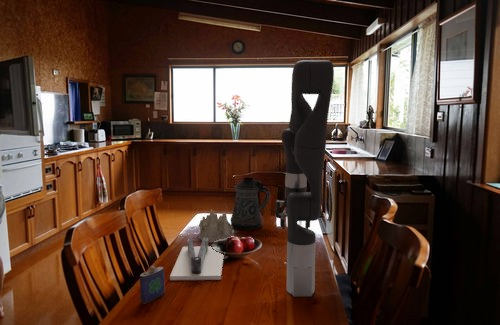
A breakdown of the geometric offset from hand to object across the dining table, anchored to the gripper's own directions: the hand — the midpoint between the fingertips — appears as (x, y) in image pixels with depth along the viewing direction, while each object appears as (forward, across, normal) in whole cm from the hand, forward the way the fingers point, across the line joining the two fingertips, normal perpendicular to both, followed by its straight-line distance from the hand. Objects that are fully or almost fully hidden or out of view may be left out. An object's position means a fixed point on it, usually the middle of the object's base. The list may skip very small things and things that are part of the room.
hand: (295, 228), depth 142 cm
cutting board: (+18, -36, +10) cm, 41 cm away
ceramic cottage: (+19, -32, +42) cm, 56 cm away
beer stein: (+20, -16, +60) cm, 65 cm away
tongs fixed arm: (+16, -35, +9) cm, 40 cm away
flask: (+17, -48, -18) cm, 54 cm away
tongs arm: (+16, -39, +11) cm, 44 cm away
